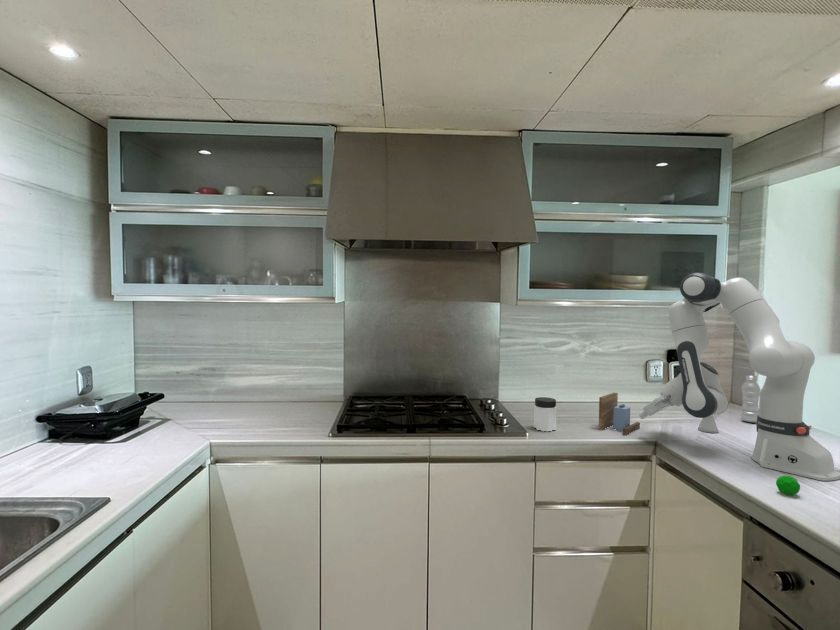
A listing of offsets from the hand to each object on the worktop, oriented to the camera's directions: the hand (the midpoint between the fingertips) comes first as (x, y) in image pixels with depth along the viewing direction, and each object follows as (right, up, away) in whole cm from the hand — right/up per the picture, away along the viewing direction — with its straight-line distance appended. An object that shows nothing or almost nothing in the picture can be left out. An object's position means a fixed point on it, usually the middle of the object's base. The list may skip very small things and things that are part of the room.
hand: (645, 415), depth 176 cm
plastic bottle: (+55, -8, +20) cm, 59 cm away
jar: (-37, -7, +6) cm, 38 cm away
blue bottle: (-6, -7, +7) cm, 12 cm away
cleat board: (-7, -7, +7) cm, 12 cm away
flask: (+28, -8, +6) cm, 30 cm away
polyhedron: (+12, -10, -53) cm, 55 cm away
